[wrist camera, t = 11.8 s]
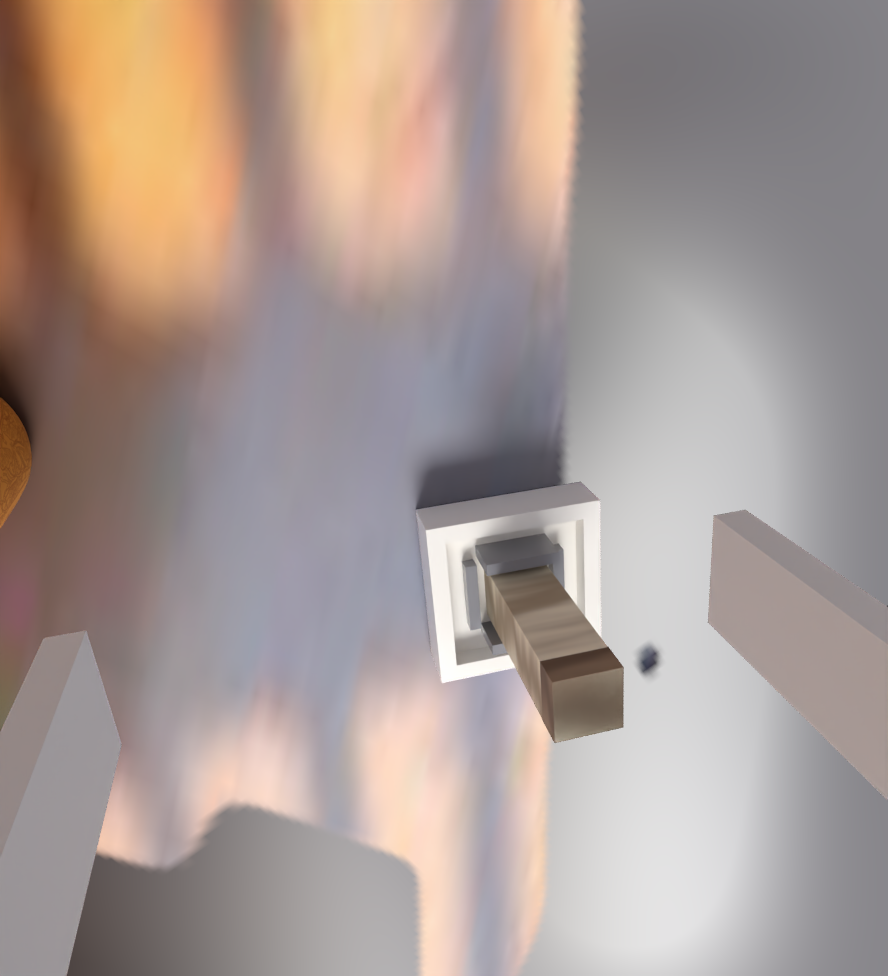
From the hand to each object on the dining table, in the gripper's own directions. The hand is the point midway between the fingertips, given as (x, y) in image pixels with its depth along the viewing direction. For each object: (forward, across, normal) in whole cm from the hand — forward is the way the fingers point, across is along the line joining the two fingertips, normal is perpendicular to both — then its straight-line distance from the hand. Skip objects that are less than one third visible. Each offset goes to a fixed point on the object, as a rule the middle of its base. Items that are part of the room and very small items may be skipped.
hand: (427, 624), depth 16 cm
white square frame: (+35, +11, -19) cm, 41 cm away
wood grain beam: (+33, +11, -19) cm, 39 cm away
